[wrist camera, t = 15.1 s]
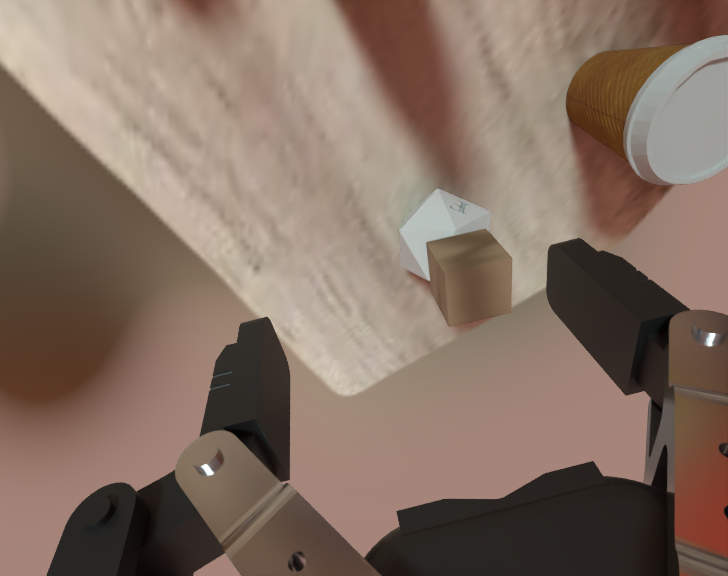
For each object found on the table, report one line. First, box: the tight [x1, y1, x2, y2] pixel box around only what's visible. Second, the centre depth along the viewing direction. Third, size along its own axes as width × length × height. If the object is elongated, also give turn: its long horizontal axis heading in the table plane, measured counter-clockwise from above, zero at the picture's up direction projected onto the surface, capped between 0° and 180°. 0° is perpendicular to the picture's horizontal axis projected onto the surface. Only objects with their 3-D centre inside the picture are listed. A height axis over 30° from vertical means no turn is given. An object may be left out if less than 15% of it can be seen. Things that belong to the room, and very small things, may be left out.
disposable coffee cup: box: [566, 35, 728, 185], centre depth 33 cm, size 10×10×12 cm
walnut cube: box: [426, 228, 512, 327], centre depth 34 cm, size 5×5×5 cm
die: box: [399, 188, 491, 281], centre depth 39 cm, size 8×9×10 cm
